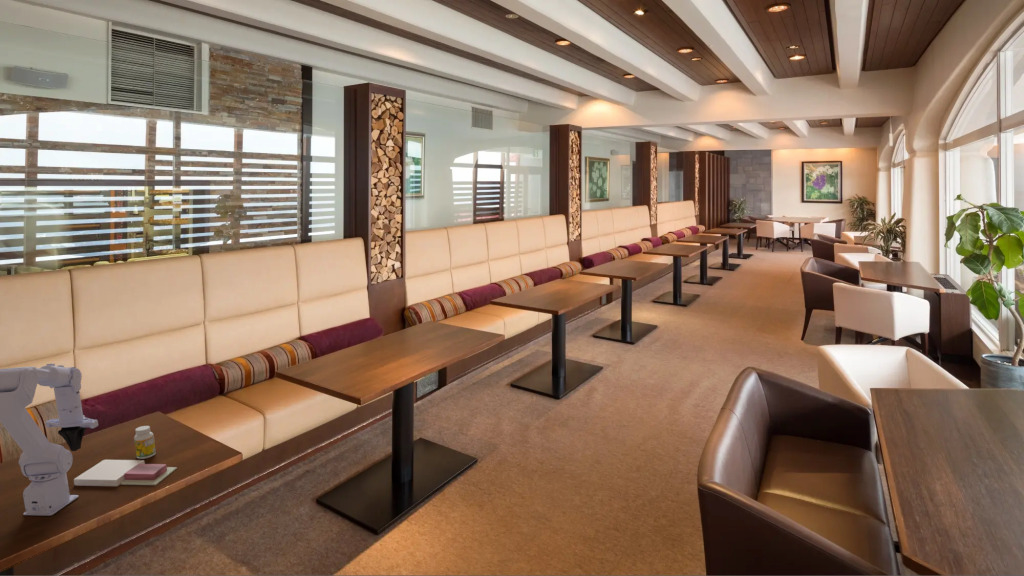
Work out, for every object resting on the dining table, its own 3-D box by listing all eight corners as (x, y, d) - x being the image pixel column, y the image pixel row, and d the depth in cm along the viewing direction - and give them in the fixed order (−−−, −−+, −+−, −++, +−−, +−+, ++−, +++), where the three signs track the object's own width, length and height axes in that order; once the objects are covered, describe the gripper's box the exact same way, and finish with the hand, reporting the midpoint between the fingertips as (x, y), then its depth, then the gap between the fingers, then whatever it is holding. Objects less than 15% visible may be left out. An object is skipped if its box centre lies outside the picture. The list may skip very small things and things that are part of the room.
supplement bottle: (159, 454, 185) (155, 426, 184) (142, 460, 181) (138, 433, 179) (150, 450, 188) (146, 423, 186) (133, 457, 183) (129, 429, 182)
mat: (155, 485, 166) (155, 484, 166) (120, 484, 166) (120, 483, 166) (176, 468, 176) (176, 467, 176) (143, 467, 176) (143, 466, 176)
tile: (154, 480, 168) (153, 474, 168) (125, 479, 168) (124, 473, 168) (167, 470, 174) (166, 464, 174) (138, 469, 174) (138, 463, 174)
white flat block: (117, 486, 166) (116, 480, 165) (74, 485, 166) (73, 479, 166) (144, 466, 177) (144, 460, 177) (105, 465, 178) (104, 459, 177)
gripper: (103, 401, 169) (109, 443, 172) (57, 401, 170) (63, 443, 173) (84, 411, 163) (91, 454, 165) (36, 410, 163) (43, 453, 166)
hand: (75, 449), depth 168 cm, fingers closed
